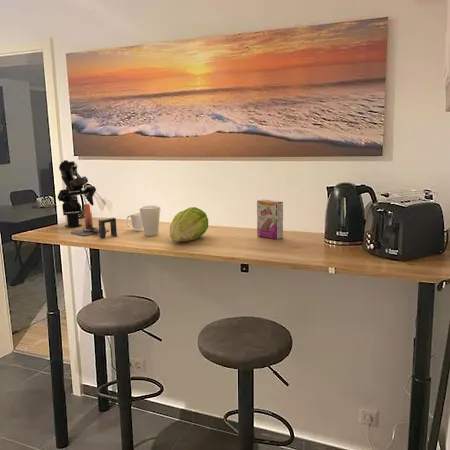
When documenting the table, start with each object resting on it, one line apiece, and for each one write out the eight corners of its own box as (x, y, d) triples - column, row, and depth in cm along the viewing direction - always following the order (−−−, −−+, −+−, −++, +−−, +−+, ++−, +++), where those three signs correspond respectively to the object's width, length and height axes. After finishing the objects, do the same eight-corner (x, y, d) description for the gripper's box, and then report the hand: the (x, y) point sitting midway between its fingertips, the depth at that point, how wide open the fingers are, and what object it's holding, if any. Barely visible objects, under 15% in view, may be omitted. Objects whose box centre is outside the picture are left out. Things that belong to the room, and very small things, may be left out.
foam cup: (148, 237, 221) (146, 209, 218) (137, 234, 228) (135, 207, 225) (165, 234, 227) (164, 206, 224) (154, 231, 234) (153, 204, 231)
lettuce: (152, 230, 205) (178, 214, 198) (178, 212, 226) (202, 197, 219) (170, 258, 207) (196, 244, 199) (194, 238, 228) (218, 224, 221)
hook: (80, 231, 236) (78, 204, 233) (91, 229, 240) (89, 203, 237) (99, 236, 224) (97, 208, 222) (110, 233, 228) (108, 206, 226)
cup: (140, 232, 233) (139, 215, 231) (123, 230, 237) (122, 214, 235) (148, 229, 239) (147, 213, 237) (131, 227, 243) (130, 212, 241)
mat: (70, 232, 235) (70, 231, 235) (96, 227, 245) (96, 227, 245) (83, 236, 227) (83, 235, 227) (109, 231, 236) (109, 230, 236)
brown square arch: (99, 237, 222) (98, 219, 221) (114, 235, 228) (112, 217, 226) (102, 238, 221) (101, 220, 219) (116, 235, 226) (115, 218, 224)
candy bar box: (256, 236, 218) (256, 200, 214) (263, 234, 221) (263, 199, 218) (276, 240, 210) (276, 202, 207) (283, 238, 214) (283, 201, 210)
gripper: (58, 173, 230) (72, 198, 225) (92, 169, 243) (106, 193, 238) (51, 188, 237) (65, 213, 231) (85, 184, 250) (99, 207, 245)
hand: (84, 206), depth 236 cm, fingers open, 9 cm apart
